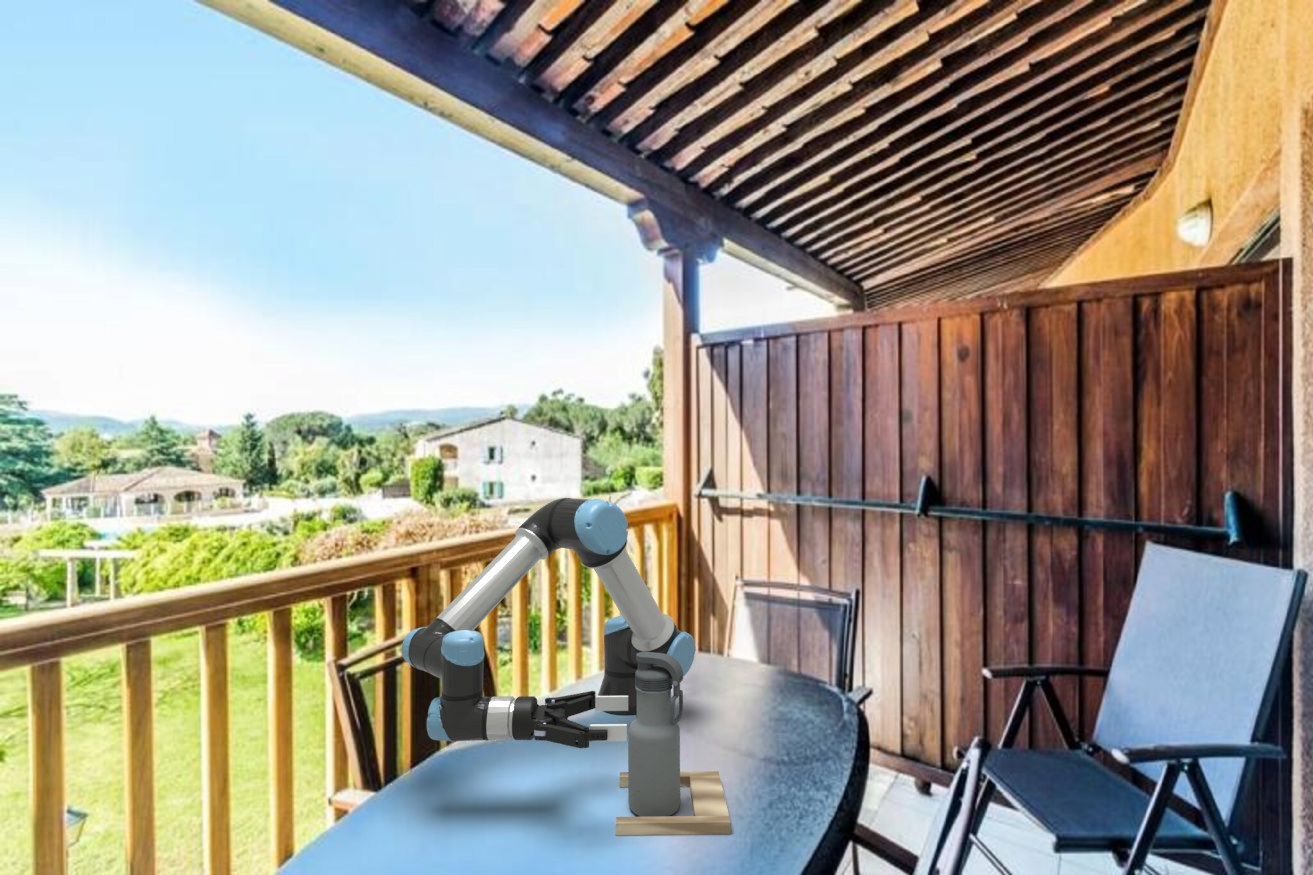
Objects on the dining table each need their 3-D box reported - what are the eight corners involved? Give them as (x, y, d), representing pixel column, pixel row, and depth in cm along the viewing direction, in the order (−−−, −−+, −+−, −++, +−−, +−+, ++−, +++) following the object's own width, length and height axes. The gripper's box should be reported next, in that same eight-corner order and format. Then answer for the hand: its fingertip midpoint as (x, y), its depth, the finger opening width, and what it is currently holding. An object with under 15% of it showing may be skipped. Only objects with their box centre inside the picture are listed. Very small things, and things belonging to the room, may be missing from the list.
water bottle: (688, 797, 121) (687, 650, 122) (673, 825, 111) (672, 665, 113) (639, 789, 124) (638, 645, 125) (620, 815, 115) (620, 660, 116)
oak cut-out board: (619, 782, 126) (619, 772, 127) (718, 781, 127) (718, 771, 127) (615, 835, 108) (615, 823, 109) (730, 833, 109) (730, 822, 109)
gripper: (526, 711, 130) (628, 710, 130) (499, 771, 105) (625, 769, 105) (526, 675, 130) (628, 674, 130) (499, 725, 105) (626, 724, 106)
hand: (627, 716), depth 118 cm, fingers open, 13 cm apart
